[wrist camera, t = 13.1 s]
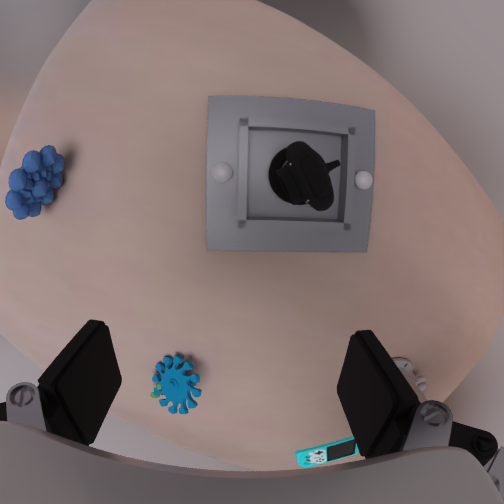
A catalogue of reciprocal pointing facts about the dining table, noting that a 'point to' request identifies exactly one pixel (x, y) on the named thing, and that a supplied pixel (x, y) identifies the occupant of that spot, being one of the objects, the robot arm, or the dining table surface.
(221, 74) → the dining table surface
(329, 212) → the housing
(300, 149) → the webcam
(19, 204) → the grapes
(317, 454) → the handheld game console
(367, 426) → the robot arm
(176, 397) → the gear
